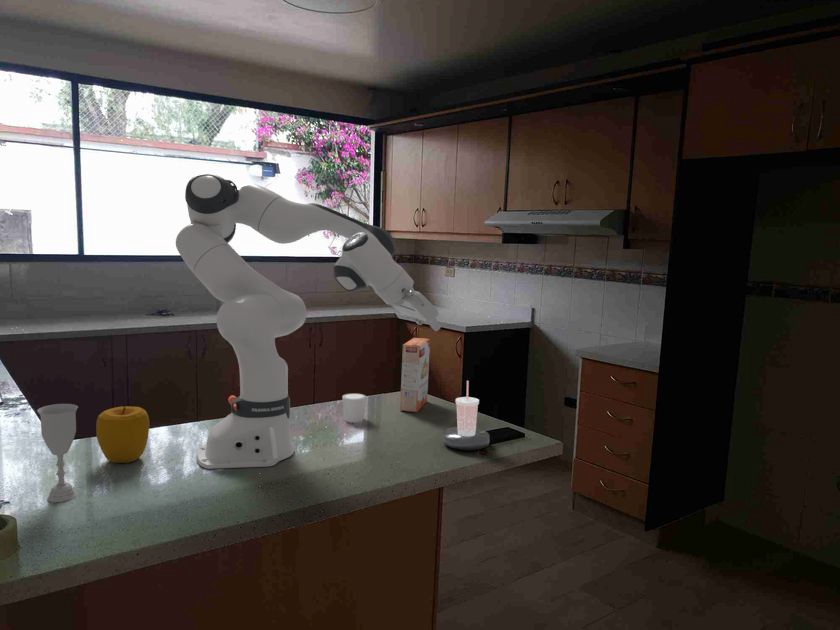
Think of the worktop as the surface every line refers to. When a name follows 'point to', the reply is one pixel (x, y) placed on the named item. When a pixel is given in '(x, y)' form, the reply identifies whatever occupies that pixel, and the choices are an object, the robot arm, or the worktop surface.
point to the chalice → (59, 443)
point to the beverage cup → (467, 414)
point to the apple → (123, 433)
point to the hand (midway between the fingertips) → (429, 325)
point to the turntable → (466, 440)
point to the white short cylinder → (354, 407)
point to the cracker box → (414, 374)
